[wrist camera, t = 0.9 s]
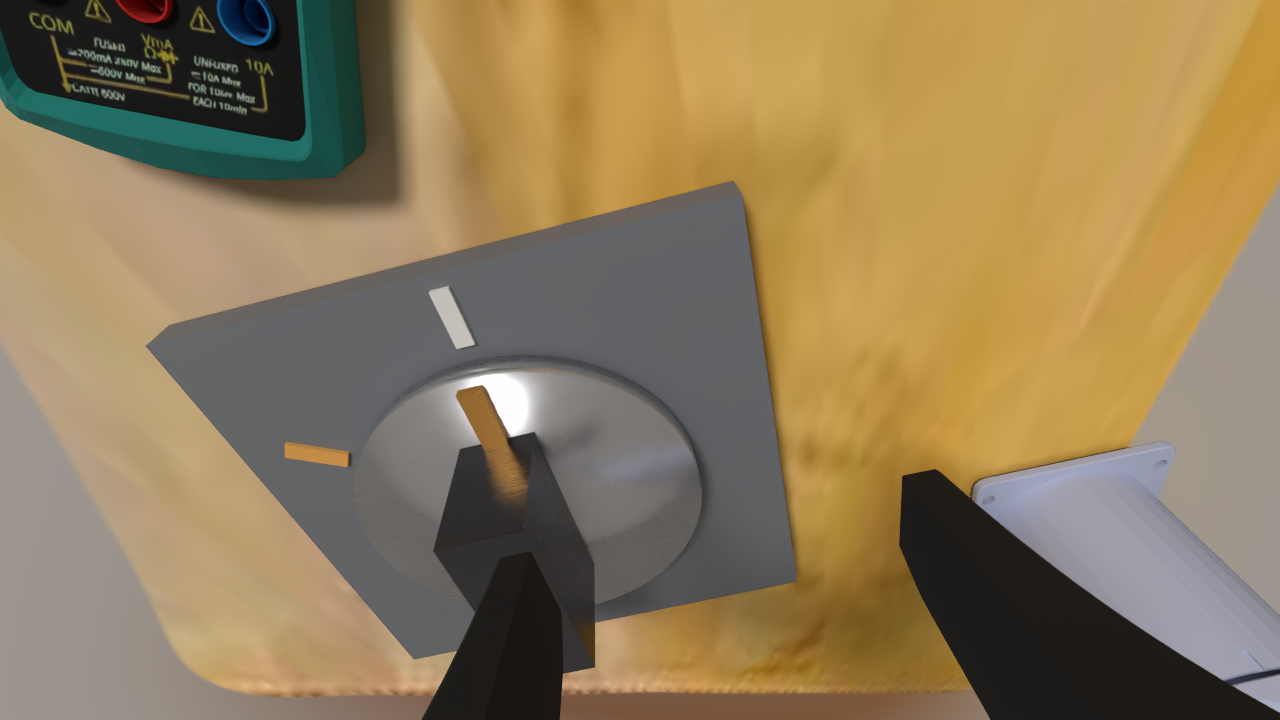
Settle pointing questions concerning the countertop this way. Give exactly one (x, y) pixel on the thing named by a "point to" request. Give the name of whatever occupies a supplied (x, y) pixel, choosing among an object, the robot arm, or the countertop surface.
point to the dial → (530, 484)
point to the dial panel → (500, 326)
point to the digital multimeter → (191, 81)
